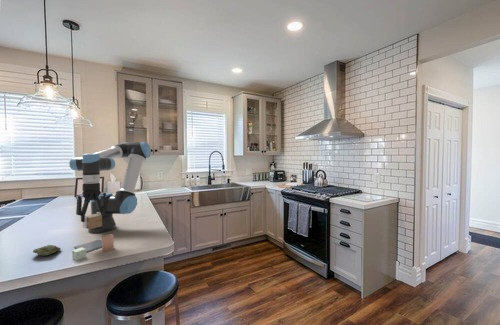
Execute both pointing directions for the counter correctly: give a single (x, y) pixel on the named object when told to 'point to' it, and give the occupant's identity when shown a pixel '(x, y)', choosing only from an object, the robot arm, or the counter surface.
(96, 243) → the coaster
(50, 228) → the counter surface
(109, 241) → the pink glossy pebble
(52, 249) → the seashell
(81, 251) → the sage block
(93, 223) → the walnut cube
